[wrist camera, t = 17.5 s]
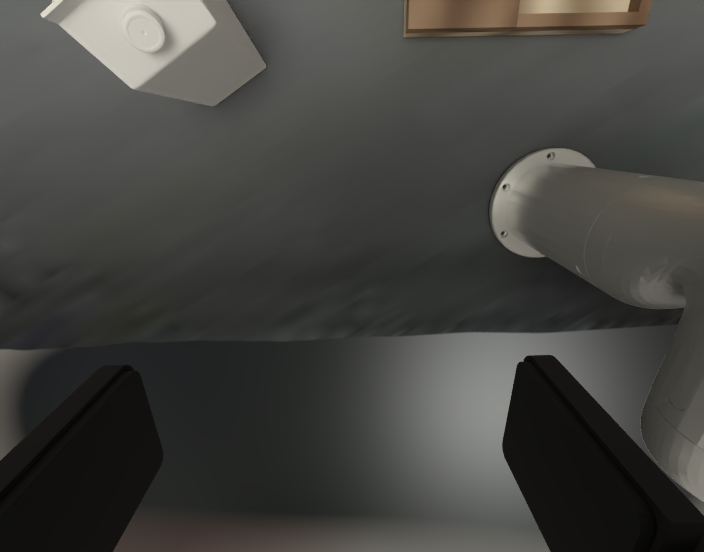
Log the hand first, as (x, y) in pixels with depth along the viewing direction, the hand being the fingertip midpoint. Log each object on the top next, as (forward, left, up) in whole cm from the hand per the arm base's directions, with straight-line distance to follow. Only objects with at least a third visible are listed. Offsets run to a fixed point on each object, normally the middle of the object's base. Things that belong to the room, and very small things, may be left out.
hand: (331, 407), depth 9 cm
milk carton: (+17, -8, -34) cm, 39 cm away
